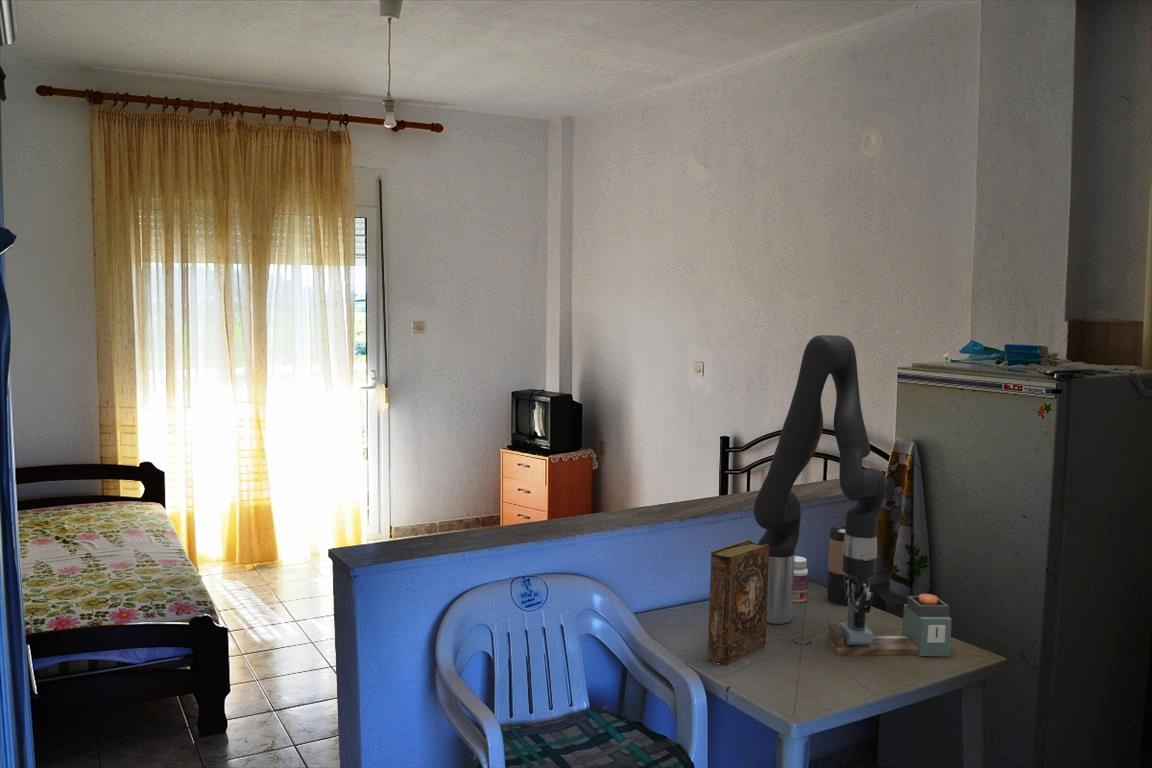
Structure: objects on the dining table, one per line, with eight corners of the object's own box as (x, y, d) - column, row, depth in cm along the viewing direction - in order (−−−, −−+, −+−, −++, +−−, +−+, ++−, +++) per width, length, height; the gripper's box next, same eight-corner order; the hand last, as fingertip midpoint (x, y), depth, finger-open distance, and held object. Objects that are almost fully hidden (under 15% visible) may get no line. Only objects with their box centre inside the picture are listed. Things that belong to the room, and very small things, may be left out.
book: (724, 666, 203) (727, 558, 201) (704, 659, 207) (707, 552, 204) (765, 647, 215) (769, 543, 212) (746, 640, 219) (750, 539, 216)
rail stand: (837, 655, 210) (838, 634, 210) (826, 642, 218) (827, 621, 218) (918, 654, 211) (919, 634, 211) (903, 641, 219) (904, 621, 219)
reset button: (923, 607, 212) (923, 599, 212) (915, 601, 216) (916, 593, 216) (939, 607, 213) (940, 599, 212) (932, 601, 217) (932, 593, 216)
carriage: (849, 647, 211) (851, 608, 210) (838, 635, 218) (840, 598, 217) (872, 647, 211) (874, 608, 210) (861, 635, 218) (863, 598, 217)
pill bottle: (811, 600, 247) (813, 559, 246) (796, 604, 244) (797, 563, 243) (794, 593, 252) (796, 554, 251) (779, 597, 249) (780, 557, 248)
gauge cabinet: (920, 657, 210) (923, 609, 209) (902, 639, 220) (904, 593, 219) (950, 657, 210) (953, 609, 209) (930, 639, 221) (932, 593, 220)
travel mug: (851, 608, 242) (855, 534, 239) (822, 602, 246) (826, 530, 243) (859, 600, 248) (862, 528, 246) (831, 594, 252) (834, 524, 250)
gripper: (833, 544, 219) (830, 614, 221) (855, 562, 205) (851, 636, 207) (864, 544, 219) (860, 613, 221) (887, 562, 205) (883, 636, 207)
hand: (856, 624), depth 214 cm, fingers closed on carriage, 3 cm apart
